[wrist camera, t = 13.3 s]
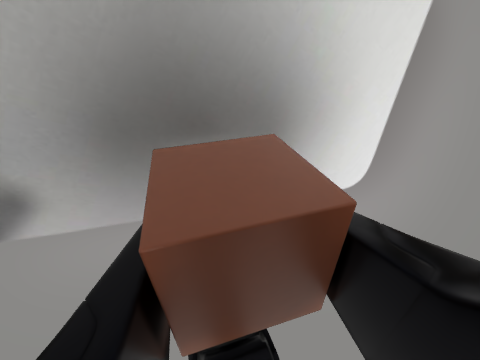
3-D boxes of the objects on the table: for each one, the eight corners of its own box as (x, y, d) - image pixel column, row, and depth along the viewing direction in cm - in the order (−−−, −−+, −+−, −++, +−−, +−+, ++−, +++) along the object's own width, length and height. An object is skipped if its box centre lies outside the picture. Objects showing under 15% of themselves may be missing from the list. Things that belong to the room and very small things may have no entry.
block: (269, 219, 11) (321, 310, 7) (176, 240, 10) (181, 358, 6) (274, 132, 8) (358, 202, 5) (152, 148, 7) (137, 252, 4)
